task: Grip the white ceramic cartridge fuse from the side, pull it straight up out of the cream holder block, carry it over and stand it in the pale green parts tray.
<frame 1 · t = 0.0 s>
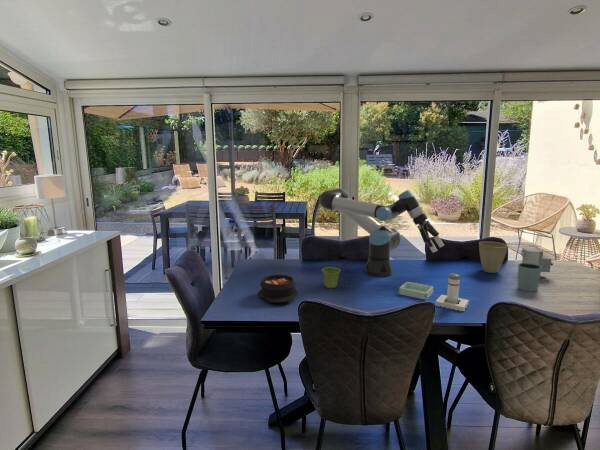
hand: (438, 249, 213), 15 cm above the table, tool tilted 35°, fingers open, 13 cm apart
plant pot: (490, 271, 225), on the table
plant pot 2: (330, 286, 199), on the table
parts tray: (415, 293, 190), on the table
casserole: (278, 296, 186), on the table
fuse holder: (451, 304, 176), on the table
fuse: (453, 290, 174), in the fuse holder
teal cylinder: (526, 288, 197), on the table
circuit breaker: (535, 276, 216), on the table
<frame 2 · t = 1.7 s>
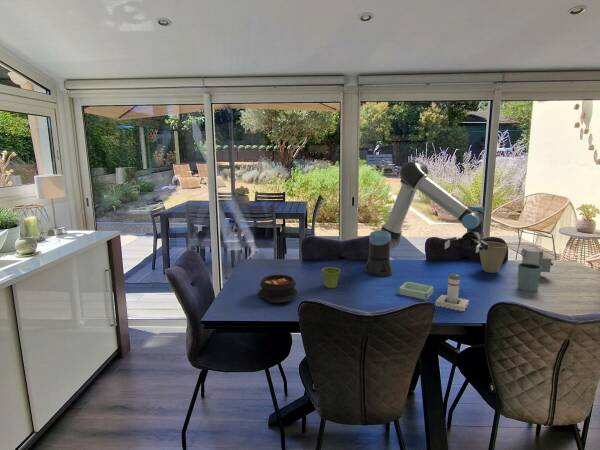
hand: (460, 247, 179), 24 cm above the table, tool horizontal, fingers open, 13 cm apart
nothing on the table moved.
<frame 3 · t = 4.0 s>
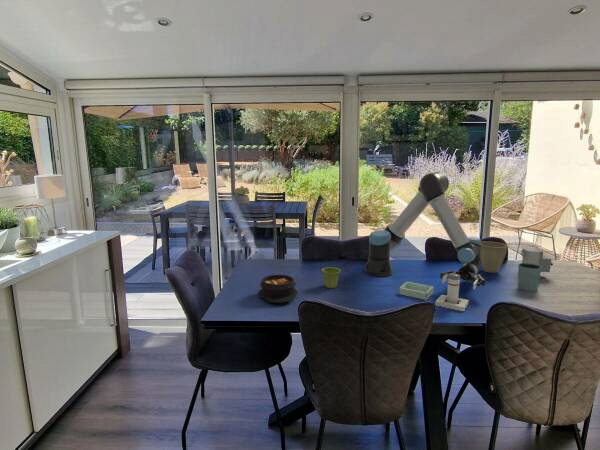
hand: (458, 283, 180), 8 cm above the table, tool horizontal, fingers open, 13 cm apart
nothing on the table moved.
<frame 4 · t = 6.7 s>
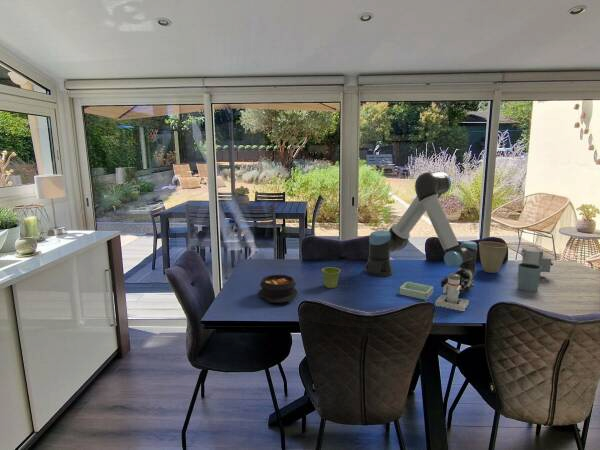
hand: (450, 291, 170), 8 cm above the table, tool horizontal, fingers closed on fuse, 5 cm apart
fuse: (453, 290, 174), in the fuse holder, touching gripper
everything else where it was.
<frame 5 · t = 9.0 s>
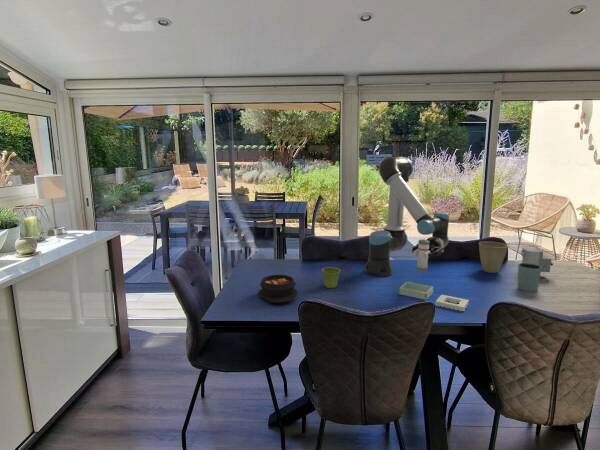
hand: (419, 255, 180), 21 cm above the table, tool horizontal, fingers closed on fuse, 5 cm apart
fuse: (422, 255, 184), point 20 cm above the table, touching gripper
everything else where it was.
when the fingers open (10 cm above the table, at t = 11.5 s): fuse drops 2 cm, resting on parts tray.
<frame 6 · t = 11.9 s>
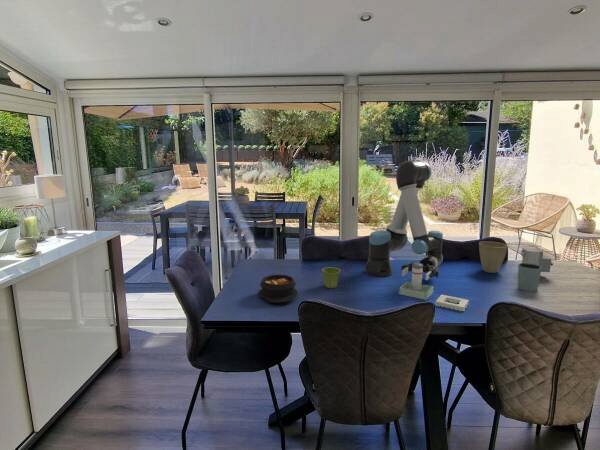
hand: (414, 275, 184), 10 cm above the table, tool horizontal, fingers open, 10 cm apart
fuse: (416, 278, 188), in the parts tray, point 8 cm above the table
everything else where it was.
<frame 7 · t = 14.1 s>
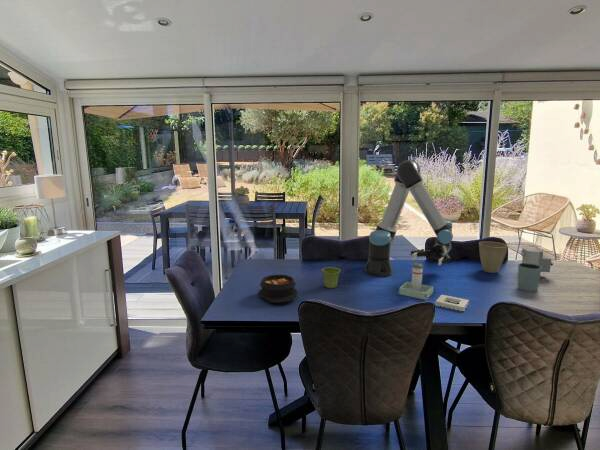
hand: (425, 260, 196), 14 cm above the table, tool horizontal, fingers open, 13 cm apart
nothing on the table moved.
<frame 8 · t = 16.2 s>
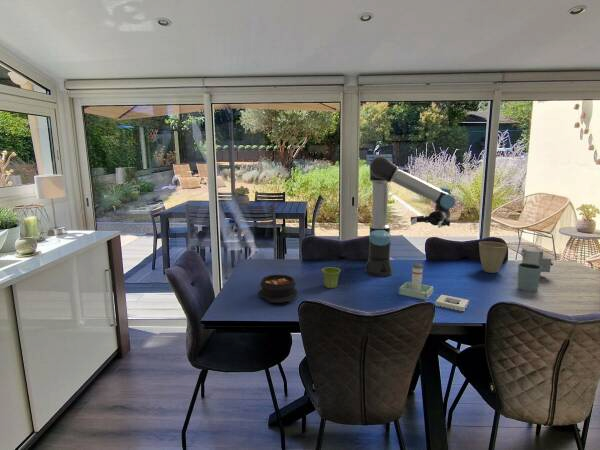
hand: (425, 223, 197), 32 cm above the table, tool horizontal, fingers open, 13 cm apart
nothing on the table moved.
at the end: fuse inside the target area on the parts tray (0.0 cm from its centre), point 7.6 cm above the parts tray's base; fuse touching parts tray; the gripper is holding nothing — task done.
